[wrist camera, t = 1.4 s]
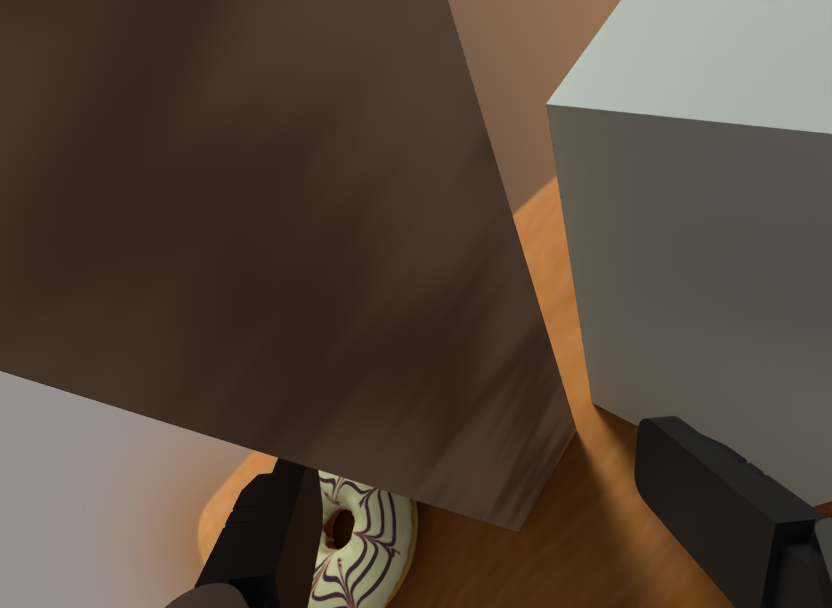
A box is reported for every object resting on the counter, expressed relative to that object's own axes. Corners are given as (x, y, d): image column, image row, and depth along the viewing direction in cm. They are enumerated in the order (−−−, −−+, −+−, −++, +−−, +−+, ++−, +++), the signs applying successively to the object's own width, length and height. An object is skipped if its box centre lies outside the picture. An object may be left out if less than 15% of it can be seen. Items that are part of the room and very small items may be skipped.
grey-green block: (648, 302, 28) (698, -107, 11) (855, 374, 22) (1680, -276, 5) (592, 402, 27) (545, 104, 9) (800, 510, 21) (1766, 232, 3)
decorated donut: (267, 594, 29) (226, 598, 26) (320, 436, 33) (291, 424, 30) (400, 659, 24) (369, 672, 21) (442, 465, 29) (422, 453, 26)
